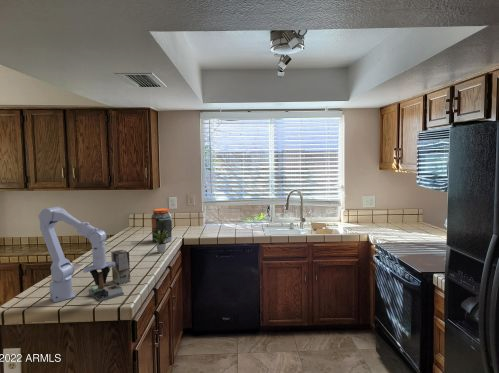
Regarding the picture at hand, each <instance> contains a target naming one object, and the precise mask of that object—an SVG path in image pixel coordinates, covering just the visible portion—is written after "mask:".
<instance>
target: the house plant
mask: <svg viewBox="0 0 499 373" xmlns="http://www.w3.org/2000/svg"><path fill="white" fill-rule="evenodd" d="M164 231H165V230H164ZM164 231H163V233H162V235H161V232H159V231H158V232H157V233H158V234H155V233H154V234H155V235H156V236H157V238H158V240H157V239H156V238H151V239H152V240H153V239H156V242H157V241H158V242H159V243H155V245H156V251H157V253H159V254H163V253H166V249H167V242H164V241H165V240H167V239H170V238H169V237H168V238H167V239H165V237H166V236H168V235H166V236H164V235H165V234H166V232H167V231H166V232H165V233H164ZM168 234H170V232H169V233H168ZM171 235H172V236H173V233H172V234H171Z"/></svg>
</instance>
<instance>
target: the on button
mask: <svg viewBox="0 0 499 373" xmlns="http://www.w3.org/2000/svg"><path fill="white" fill-rule="evenodd" d="M91 289H92V291H93V292H97V291H101V290H102V289H98V285H94V286H91Z"/></svg>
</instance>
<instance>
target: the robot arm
mask: <svg viewBox="0 0 499 373" xmlns="http://www.w3.org/2000/svg"><path fill="white" fill-rule="evenodd" d="M37 216H38V219H39V220H38V221H39V230H40V232H41V235H42V237H43V240H44V243H45V245H46V248H47V251H48V254H49V255H50V258H51V261H52V263H51V266H50V272H51V273H50V276H51V279H52V280H53V281H50V282H49V299H50V300H51V301H53V303H58V302H60V301H61V302H62V301H65V300H70V299H74V298H76V297H77V295H75V294H74V292H73V275H74V273H75V267H74V265H73V264H72V263H71V261H70V259H68V258H66V257H65V254H64V252H63V249H62V246H61V243H60V241H59V238H58V235H57V234H56V230H55V226H56V224H57V223H58V222H63V223H66V224H68V225H69V226H71V227H73V228H75V229H76V232H77V233H78V234H80V235H82V236H83V237H85V238H86V239H88V241H89V243H90V245H91V252H92V253H91V254H92V265H88V266H86V267H83V268H82V273H84V274H87V273H88V272H89V273H90V274H91V276H92V278H93V280H94V284H95V285H94V286H98V285H99V282H98V274H99V272H103V277H104V285H105V284H107V279H108V276H109V273H110V271H111V268H112V266H113V267H114V266H115V262H112V261H110V262H107V260H106V259H107V257H106V255H107V254H106V240H107V238H108V234H107V232H106V231H104V229H99V228H98V227H94V226H93V225H91V223H90V222H87V221H82V222H81V221H80V220H79V219H77V218H75V217H74V216H73V215H72V214H70V213H69V212H67V210H66V209H64V208H63V207H62V206H58V205H57V206H54V207H48V208H43V209H41V211H40V212H39V214H38V215H37ZM98 270H101V271H98Z"/></svg>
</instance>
